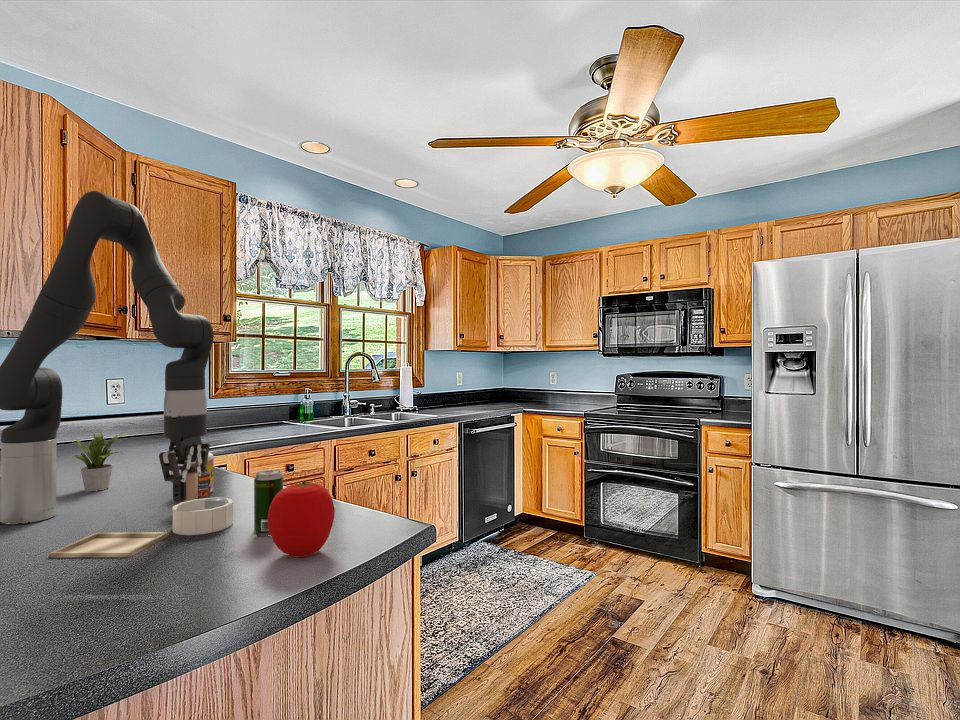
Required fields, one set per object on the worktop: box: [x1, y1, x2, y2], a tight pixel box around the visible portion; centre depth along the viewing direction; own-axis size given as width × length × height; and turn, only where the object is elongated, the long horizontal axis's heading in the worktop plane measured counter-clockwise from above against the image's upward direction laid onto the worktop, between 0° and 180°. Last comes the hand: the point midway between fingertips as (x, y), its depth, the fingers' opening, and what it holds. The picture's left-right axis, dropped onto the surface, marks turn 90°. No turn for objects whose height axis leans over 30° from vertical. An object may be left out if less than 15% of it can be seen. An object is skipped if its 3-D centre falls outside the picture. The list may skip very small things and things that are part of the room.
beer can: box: [253, 469, 284, 537], centre depth 103 cm, size 5×5×12 cm
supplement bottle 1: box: [182, 465, 211, 502], centre depth 118 cm, size 6×6×11 cm
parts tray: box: [48, 531, 170, 559], centre depth 94 cm, size 14×11×1 cm
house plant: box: [71, 430, 130, 492], centre depth 141 cm, size 14×14×16 cm
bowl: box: [172, 497, 234, 536], centre depth 106 cm, size 11×11×5 cm
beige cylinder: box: [180, 472, 198, 501], centre depth 103 cm, size 4×4×5 cm
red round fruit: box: [268, 480, 336, 558], centre depth 91 cm, size 11×11×13 cm
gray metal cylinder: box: [205, 496, 227, 509], centre depth 107 cm, size 4×4×5 cm
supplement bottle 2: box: [206, 447, 215, 493], centre depth 137 cm, size 7×7×13 cm
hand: (186, 497), depth 103 cm, fingers closed on beige cylinder, 4 cm apart
